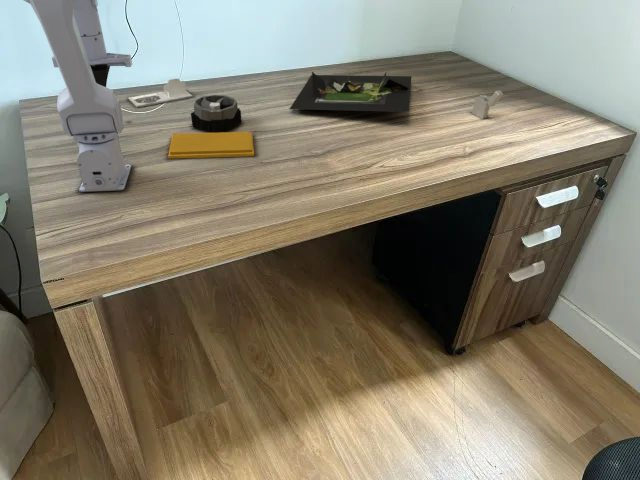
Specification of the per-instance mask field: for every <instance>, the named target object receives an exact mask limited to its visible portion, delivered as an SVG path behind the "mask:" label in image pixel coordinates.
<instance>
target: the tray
mask: <svg viewBox="0 0 640 480" xmlns="http://www.w3.org/2000/svg"><path fill="white" fill-rule="evenodd" d="M169 144H170V145H169V149H168V155H167V158H168V159H169V160H177V159H178V160H179V159H202V158H203V159H205V158H208V159H209V158H210V159H211V158H237V157H241V158H242V157H255V150H254V148H255V147H254V139H253V133H251V131H228V132H219V133H212V132H183V133H181V132H180V133H173V135H171V139H170V143H169Z"/></svg>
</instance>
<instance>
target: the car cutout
mask: <svg viewBox="0 0 640 480" xmlns="http://www.w3.org/2000/svg"><path fill="white" fill-rule="evenodd" d="M162 87H163V88H162V89H163V90H162V91H158V92H157V91H156V92H151V93H145V94H140V95H134V96H129V97H127V98H128V100H129V101H130V102H131V103H132V104H133V105H134V106H135V107H136V108H142V107H149V106H152V105H158V104H163V103H170V102H174V101H180V100H186V99H191V98H193V97H194V96H193V94H192V93H190V92H189V91H187V90H188V88H187V85H186V82H185V81H181V80H180V79H179V78H172V79H169V80H167V83H166V84H164V85H163V86H162Z"/></svg>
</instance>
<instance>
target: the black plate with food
mask: <svg viewBox="0 0 640 480" xmlns="http://www.w3.org/2000/svg"><path fill="white" fill-rule="evenodd" d="M412 77H413V76H412V75H411V76H410V75H387V72H384V75H350V74H349V75H346V74H345V75H344V74H343V75H340V74H339V75H338V74H337V75H335V74H316V73H315V72H314V71H311V75H310V76H309V78H308V80H306V81H307V82H306V83H305V84H304V85H303V87H302V88H301V90H300V92H299V94H298V95H297V96H296V98H295V99H294V101H293V102H292V104H291V105H290V107H289V110H311V111H313V110H314V111H317V110H318V111H349V112H350V111H353V112H360V111H361V112H392V113H393V112H394V113H395V112H396V113H398V112H399V113H409V111H410V102H411V89H412V79H413V78H412Z"/></svg>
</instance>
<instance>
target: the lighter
mask: <svg viewBox="0 0 640 480" xmlns="http://www.w3.org/2000/svg"><path fill="white" fill-rule="evenodd" d="M503 95H504V93H503V92H502V90H501V89H498V90H495V91H494V93H493V94H492V95H491V97H490V98H489V97H488V95H485V94H480V95H479V96H475V97H474V102H473V105H472V110H471V114H472V115H474V116H476V117H478V118H480V119H482V120H483V119H487V118H488V115H489V111H490V107H494V106H496V104H497V103H498V102H499V100H500V99H501V98H502V97H503Z"/></svg>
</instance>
